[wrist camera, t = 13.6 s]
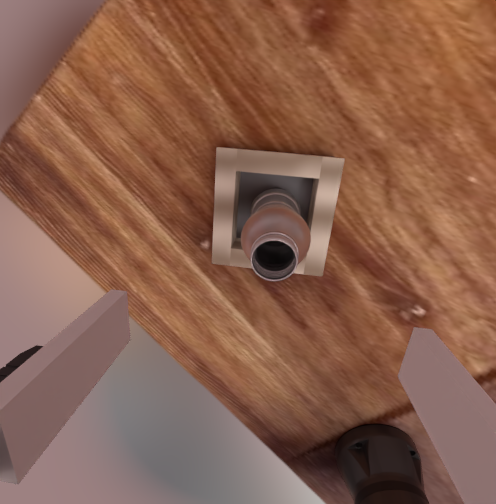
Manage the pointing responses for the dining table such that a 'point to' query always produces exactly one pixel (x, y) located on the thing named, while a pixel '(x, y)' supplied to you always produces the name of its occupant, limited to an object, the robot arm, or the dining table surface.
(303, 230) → the plastic bottle
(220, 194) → the bottle holder
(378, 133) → the dining table surface
